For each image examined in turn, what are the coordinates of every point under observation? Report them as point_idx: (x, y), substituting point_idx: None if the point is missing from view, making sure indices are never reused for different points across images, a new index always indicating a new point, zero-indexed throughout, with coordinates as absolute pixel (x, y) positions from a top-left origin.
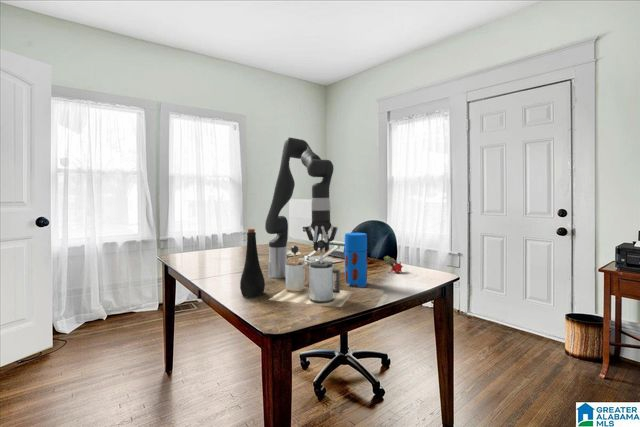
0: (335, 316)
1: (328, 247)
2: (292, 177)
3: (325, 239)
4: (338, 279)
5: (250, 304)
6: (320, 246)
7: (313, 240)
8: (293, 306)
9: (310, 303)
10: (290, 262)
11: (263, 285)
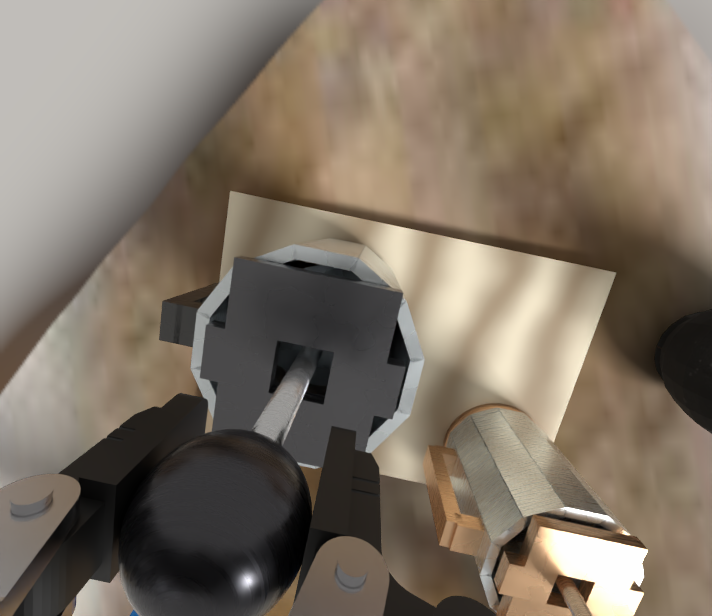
0: (252, 111)
1: (115, 445)
2: None
3: (12, 543)
4: (199, 290)
5: (696, 247)
6: (236, 431)
7: (377, 583)
8: (469, 236)
9: (385, 231)
10: (607, 553)
11: (698, 366)
